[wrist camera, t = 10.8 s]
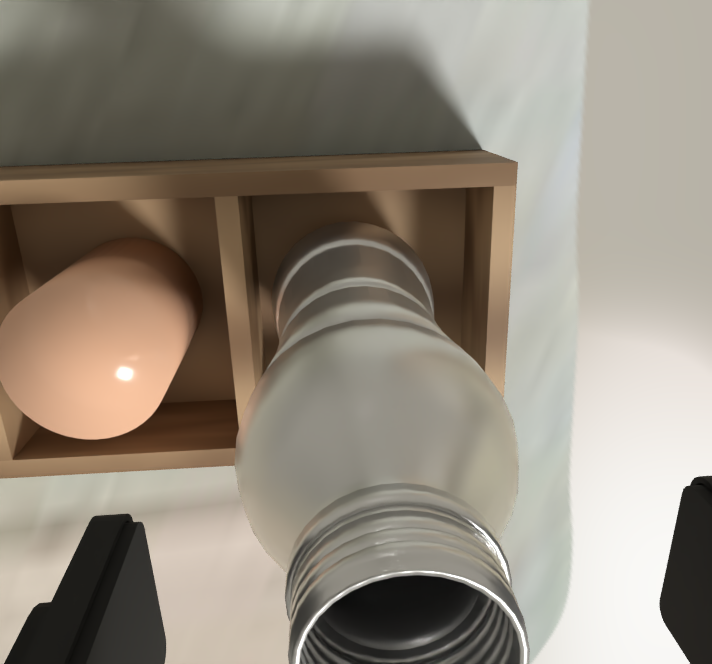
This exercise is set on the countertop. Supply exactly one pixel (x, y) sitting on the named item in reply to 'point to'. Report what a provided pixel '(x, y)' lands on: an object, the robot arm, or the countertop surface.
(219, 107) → the countertop surface
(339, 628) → the grey metal bottle
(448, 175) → the crate
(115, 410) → the peach colored egg
